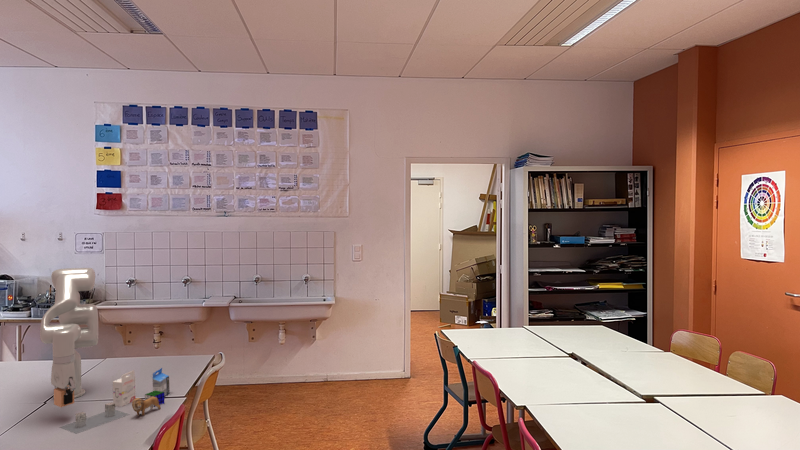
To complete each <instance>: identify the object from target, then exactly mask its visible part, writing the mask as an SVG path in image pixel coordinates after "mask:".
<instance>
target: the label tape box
mask: <svg viewBox="0 0 800 450" xmlns="http://www.w3.org/2000/svg"><path fill="white" fill-rule="evenodd" d="M162 371H163V367H160V368H159V369H158V370H156V371H154V372H153V373H152V392H153V391H155V390H156V391H161V392H164V397H165V396H167V395H168V394H170V392H171V391H170V375H168V374H166V373H164V372H162Z"/></svg>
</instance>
